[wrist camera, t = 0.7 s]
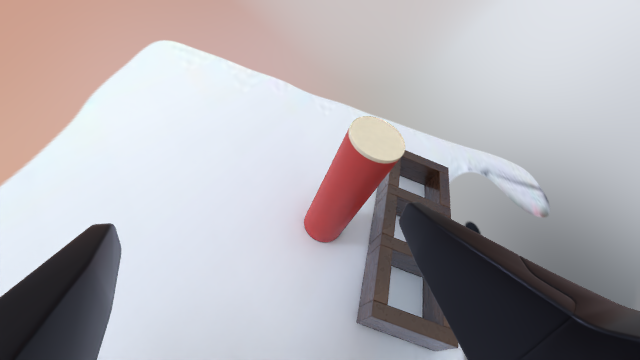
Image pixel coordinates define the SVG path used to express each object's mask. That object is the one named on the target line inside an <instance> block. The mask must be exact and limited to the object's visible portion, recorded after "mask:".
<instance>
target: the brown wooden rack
mask: <svg viewBox="0 0 640 360" xmlns="http://www.w3.org/2000/svg"><path fill="white" fill-rule="evenodd" d="M400 175H401V176H403V177H406V178H408V179H411V180H413V181H416V182H418V183H421V184H423V185H425V198H423V197H421V196H418V195H416V194H413V193H411V192H408V191H406V190H403V189H401V188H398V187H399V177H400ZM448 175H449V174H448V168H447V167H445V166H443V165H440V164H438V163H435V162H433V161H430V160H428V159H425V158H423V157H421V156H418V155H416V154H413V153H411V152H408V151H406V150H405V151H404V154H403V155H402V157H401V158H400V159H399V160H398V162H397V163H396V164H395V165H394V167H393V168H392V169H391V170H390V172H389V173H388V174H387V176H386V177H385V178H384V179H383V181H382V182H381V183H380V184H379V186H378V190H377V197H376V203H375V209H374V216H373V222H372V228H371V235H370V241H369V247H368V253H367V259H366V266H365V272H364V278H363V285H362V291H361V297H360V304H359V310H358V317H357V323H359V324H362V325H365V326H367V327H370V328H373V329H376V330H378V331H381V332H384V333H387V334H389V335H392V336H395V337H398V338H400V339H403V340H406V341H409V342H411V343H414V344H417V345H420V346H422V347H425V348H428V349H431V350H433V351H439V350H446V349H453V348H458V341H457V339H456V337H455V335H454V333H453V331H452V330H451V328H450V326H449V324H448V322H447V320H446V318H445V317H444V315H443V313H442V311H441V309H440V307H439V305H438V304H437V302H436V300H435V298H434V296H433V294H432V292H431V290H430V289H429V287H428V285H427V283H426V281H425V279H424V284H423V318H421V317H418V316H415V315H412V314H410V313H407V312H404V311H402V310H399V309H396V308H394V307H391V306H388V305H387V304H388V294H389V283H390V273H391V265H392V266H394V267H397V268H400V269H402V270H405V271H407V272H410V273H413V274H415V275H418V276H421V277H423V276H422V274H421V272H420V270H419V268H418V266H417V264H416V262H415V260H414V258H413V256H412V253H411V251H410V248H409V246H408V244H407V242H404V241H401V240H399V239H396V238H394V229H395V219H396V215H399V216H401V215H402V212H403V210H404V208H405V206H406V204H407V203H409V202H419V203H421V204H423V205H425V206H427V207H429V208H431V209H433V210H435V211H437V212H438V213H440V214H442V215H444V216H446V217H448V218H450V219H451V211H450V193H449V176H448ZM423 278H424V277H423Z"/></svg>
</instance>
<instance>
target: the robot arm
mask: <svg viewBox="0 0 640 360" xmlns="http://www.w3.org/2000/svg"><path fill="white" fill-rule="evenodd" d="M399 224H400V227H401V229H402V232H403V234H404V237H405V239H406V241H407V244H408V246H409V248H410V251H411V253H412V256H413V258H414V260H415V262H416V264H417V266H418V268H419V270H420V272H421V274H422V276H423V277H424V279H425V281H426V283H427V285H428V287H429V289H430V290H431V292H432V294H433V296H434V298H435V300H436V302H437V304H438V305H439V307H440V309H441V311H442V313H443V315H444V317H445V318H446V320H447V322H448V324H449V326H450V328H451V330H452V331H453V333H454V335H455V337H456V339H457V341H458V343H459V344H460V346H461V348H462V350H463V352H464V354H465V356H466V357H467V359H468V360H640V311H637V310H634V309H630V308H627V307H625V306H622V305H619V304H617V303H615V302H612V301H611V300H609V299H607V298H604V297H602V296H600V295H598V294H596V293H594V292H592V291H590V290H587V289H585V288H583V287H581V286H579V285H577V284H575V283H573V282H571V281H569V280H567V279H565V278H563V277H560V276H558V275H556V274H554V273H552V272H550V271H548V270H546V269H544V268H543V267H541V266H539V265H536V264H535V263H533V262H531V261H529V260H527V259H525V258H523V257H521V256H518V255H517V254H515V253H514V252H512V251H509V250H508V249H506V248H504V247H503V246H501V245H499V244H497V243H495V242H493V241H491V240H489V239H487V238H486V237H484V236H482V235H480V234H478V233H476V232H474V231H472V230H470V229H469V228H467V227H465V226H463V225H461V224H459V223H457V222H455V221H454V220H452V219H450V218H448V217H446V216H444V215H442V214H440V213H438V212H437V211H435V210H433V209H431V208H429V207H427V206H425V205H423V204H421V203H419V202H409V203H407V204H406V206H405V208H404V210H403V212H402V215H401V217H400V220H399ZM120 258H121V244H120V241H119V238H118V235H117V232H116V228H115V226H114V225H113V224H111V223H108V224H95V225H92V226H90V227H89V228H88V229H86V230H85V231H84V232H83V233H81V234H80V235H79V236H78V237H76V238H75V239H74V240H72V241H71V242H70V243H69V244H67V245H66V246H65V247H64V248H62V249H61V250H60V251H59V252H57V253H56V254H55V255H53V256H52V257H51V258H50V259H48V260H47V261H46V262H45V263H43V264H42V265H41V266H39V267H38V268H37V269H36V270H34V271H33V272H32V273H31V274H29V275H28V276H27V277H25V278H24V279H23V280H22V281H20V282H19V283H18V284H17V285H15V286H14V287H13V288H11V289H10V290H9V291H8V292H6V293H5V294H4V295H3V296H1V297H0V360H97V357H98V354H99V350H100V347H101V344H102V341H103V337H104V334H105V331H106V328H107V324H108V321H109V317H110V314H111V310H112V305H113V299H114V293H115V287H116V281H117V276H118V270H119V264H120Z"/></svg>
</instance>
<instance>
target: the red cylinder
mask: <svg viewBox="0 0 640 360" xmlns="http://www.w3.org/2000/svg"><path fill="white" fill-rule="evenodd" d="M404 151H405V142H404V139H403V137H402V136H401V134H400V133H399V132H398V130H397V129H396V128H394V127H393V126H392V125H391V124H389V123H388V122H386V121H384V120H382V119H379V118H376V117H371V116H363V117H359V118H357V119H355V120H354V121H353V122H352V123H351V125H350V127H349V129H348V131H347V133H346V135H345V137H344V139H343V141H342V143H341V145H340V147H339V149H338V152H337V154H336V156H335V158H334V160H333V162H332V164H331V166H330V168H329V170H328V172H327V174H326V176H325V178H324V180H323V182H322V184H321V186H320V188H319V190H318V192H317V194H316V196H315V198H314V200H313V202H312V204H311V206H310V208H309V210H308V212H307V214H306V216H305V219H304V225H305V229H306V231H307V233H308V234H309V235H310V236H311V237H312V238H313V239H315V240H317V241H320V242H331V241H333V240H335V239H336V238H337V237H338V236H339V235H340V234H341V232H342V231H343V230H344V229H345V227H346V226H347V225H348V223H349V222H350V221H351V220H352V218H353V217H354V216H355V215H356V213H357V212H358V211H359V210H360V208H361V207H362V206H363V205H364V203H365V202H366V201H367V199H368V198H369V197H370V196H371V194H372V193H373V192H374V191H375V189H376V188H377V187H378V186H379V184H380V183H381V182H382V181H383V179H384V178H385V177H386V176H387V174H388V173H389V172H390V170H391V169H392V168H393V167H394V165H395V164H396V163H397V162H398V160H399V159H400V158H401V157H402V155H403V154H404Z"/></svg>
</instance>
